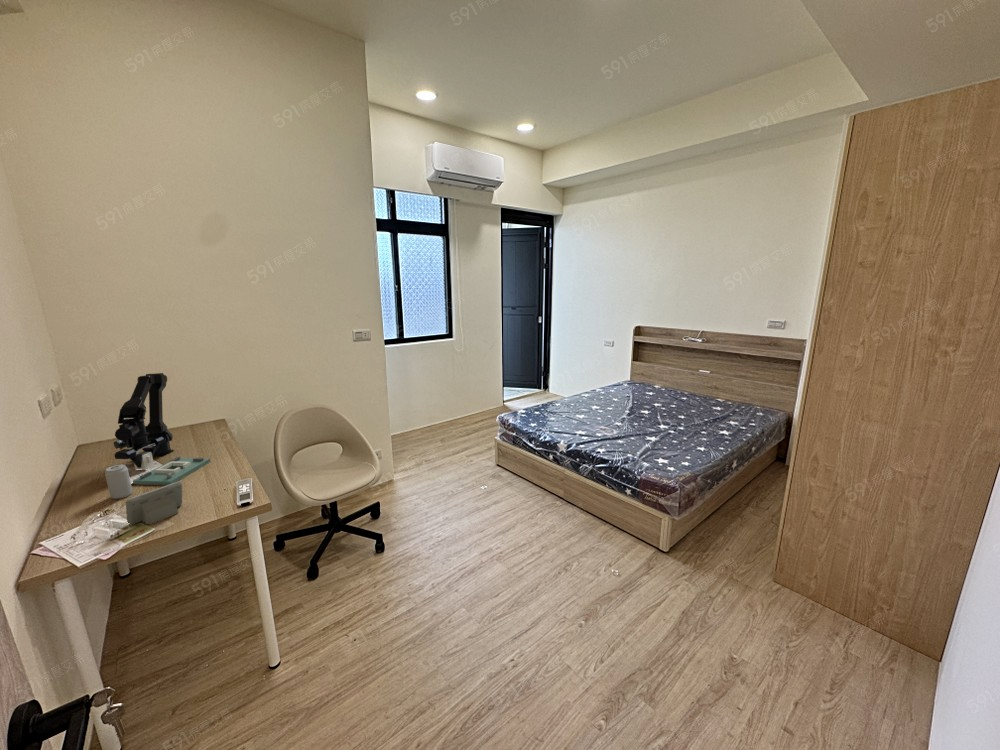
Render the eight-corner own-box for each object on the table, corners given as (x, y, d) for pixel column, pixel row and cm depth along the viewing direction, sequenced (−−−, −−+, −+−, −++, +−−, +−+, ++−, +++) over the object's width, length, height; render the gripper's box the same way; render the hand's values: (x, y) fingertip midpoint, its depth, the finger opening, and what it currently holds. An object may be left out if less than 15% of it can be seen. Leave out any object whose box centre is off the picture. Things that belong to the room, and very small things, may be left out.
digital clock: (183, 503, 153) (178, 477, 150) (189, 511, 147) (184, 485, 144) (126, 521, 141) (120, 493, 139) (130, 531, 135) (123, 503, 133)
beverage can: (129, 490, 162) (123, 462, 159) (135, 494, 158) (129, 466, 156) (108, 497, 156) (101, 468, 154) (114, 501, 153) (107, 472, 150)
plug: (144, 466, 182) (141, 450, 181) (156, 466, 182) (153, 451, 181) (135, 470, 178) (132, 455, 176) (147, 471, 178) (144, 455, 176)
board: (177, 461, 188) (175, 454, 187) (210, 461, 187) (209, 455, 186) (133, 484, 166) (131, 476, 166) (171, 485, 166) (169, 477, 165)
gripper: (139, 424, 186) (145, 456, 189) (98, 440, 168) (106, 474, 171) (162, 425, 185) (168, 456, 189) (124, 440, 167) (131, 475, 171)
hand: (144, 465), depth 180 cm, fingers closed on plug, 4 cm apart
